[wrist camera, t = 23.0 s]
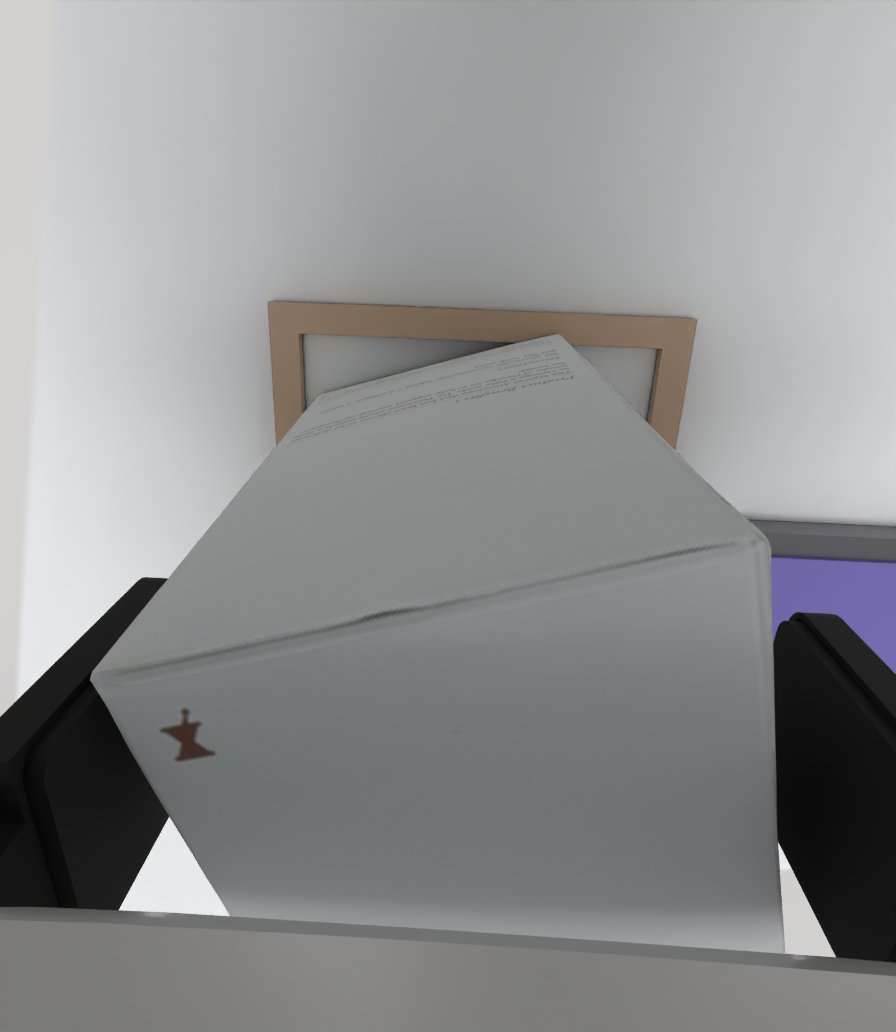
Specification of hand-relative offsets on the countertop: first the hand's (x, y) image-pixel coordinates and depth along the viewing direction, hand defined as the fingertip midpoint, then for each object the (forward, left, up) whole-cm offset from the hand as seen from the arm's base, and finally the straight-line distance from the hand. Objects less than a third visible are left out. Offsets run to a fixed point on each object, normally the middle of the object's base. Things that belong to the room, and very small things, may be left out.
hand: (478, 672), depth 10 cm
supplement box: (0, 0, -10) cm, 10 cm away
